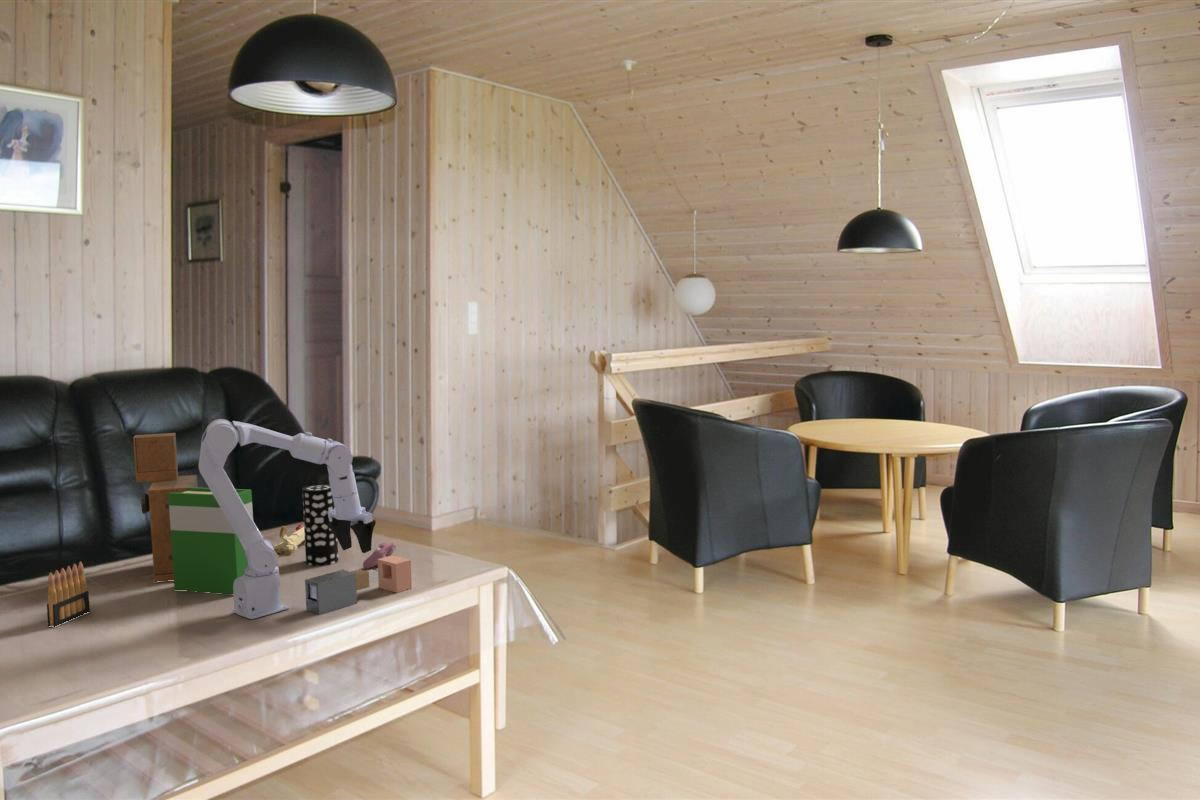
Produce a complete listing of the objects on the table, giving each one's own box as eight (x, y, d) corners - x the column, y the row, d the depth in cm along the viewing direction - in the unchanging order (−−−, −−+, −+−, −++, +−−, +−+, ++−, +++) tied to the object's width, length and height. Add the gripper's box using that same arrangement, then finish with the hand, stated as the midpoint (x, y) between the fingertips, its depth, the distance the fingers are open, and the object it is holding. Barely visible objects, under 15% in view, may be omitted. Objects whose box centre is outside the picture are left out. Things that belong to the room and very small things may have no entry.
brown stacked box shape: (144, 565, 260) (136, 434, 256) (202, 559, 265) (194, 431, 261) (136, 584, 242) (126, 444, 238) (198, 578, 247) (189, 440, 243)
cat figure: (298, 560, 268) (344, 531, 291) (295, 529, 266) (341, 503, 290) (266, 558, 270) (314, 530, 294) (263, 528, 268) (311, 502, 292)
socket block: (397, 592, 231) (395, 564, 231) (378, 587, 236) (377, 559, 235) (411, 588, 235) (410, 560, 234) (393, 583, 239) (392, 555, 239)
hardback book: (174, 590, 236) (168, 493, 234) (194, 582, 243) (188, 487, 241) (238, 595, 232) (232, 495, 229) (256, 586, 239) (251, 489, 236)
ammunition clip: (55, 628, 211) (50, 573, 209) (47, 627, 211) (43, 573, 210) (90, 612, 221) (86, 560, 220) (83, 611, 221) (79, 560, 220)
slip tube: (318, 601, 217) (318, 585, 217) (309, 598, 219) (308, 582, 219) (380, 583, 230) (379, 569, 229) (370, 581, 232) (369, 566, 232)
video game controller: (375, 575, 252) (385, 552, 251) (360, 567, 252) (370, 544, 251) (390, 565, 262) (401, 542, 260) (376, 557, 262) (386, 534, 261)
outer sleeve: (319, 614, 216) (317, 583, 216) (306, 610, 220) (304, 579, 219) (357, 603, 224) (355, 573, 223) (344, 599, 227) (342, 569, 226)
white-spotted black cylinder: (345, 560, 262) (341, 486, 259) (320, 567, 255) (317, 492, 252) (323, 556, 266) (320, 483, 264) (299, 563, 259) (295, 489, 257)
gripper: (378, 490, 223) (389, 546, 225) (341, 487, 233) (352, 541, 235) (353, 499, 218) (365, 557, 220) (315, 496, 227) (327, 551, 230)
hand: (356, 550), depth 227 cm, fingers open, 7 cm apart
